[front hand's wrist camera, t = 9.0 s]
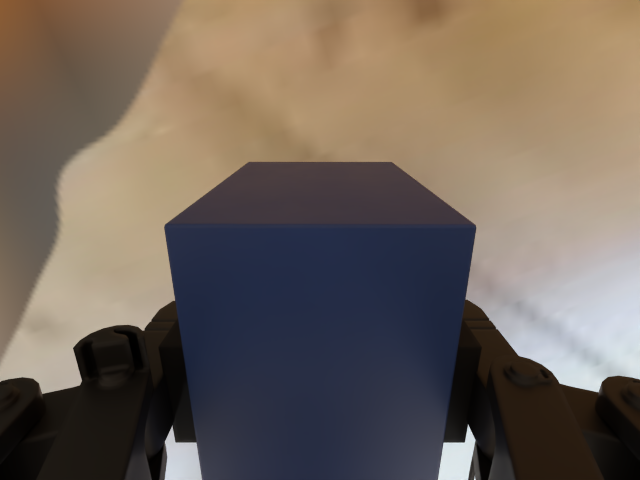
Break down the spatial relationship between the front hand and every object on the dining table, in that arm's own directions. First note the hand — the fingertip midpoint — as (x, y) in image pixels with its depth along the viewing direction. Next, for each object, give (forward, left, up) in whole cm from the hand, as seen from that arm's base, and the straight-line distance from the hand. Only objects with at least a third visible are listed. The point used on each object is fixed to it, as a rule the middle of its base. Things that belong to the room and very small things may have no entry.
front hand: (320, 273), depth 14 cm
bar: (+6, +6, -1) cm, 8 cm away
